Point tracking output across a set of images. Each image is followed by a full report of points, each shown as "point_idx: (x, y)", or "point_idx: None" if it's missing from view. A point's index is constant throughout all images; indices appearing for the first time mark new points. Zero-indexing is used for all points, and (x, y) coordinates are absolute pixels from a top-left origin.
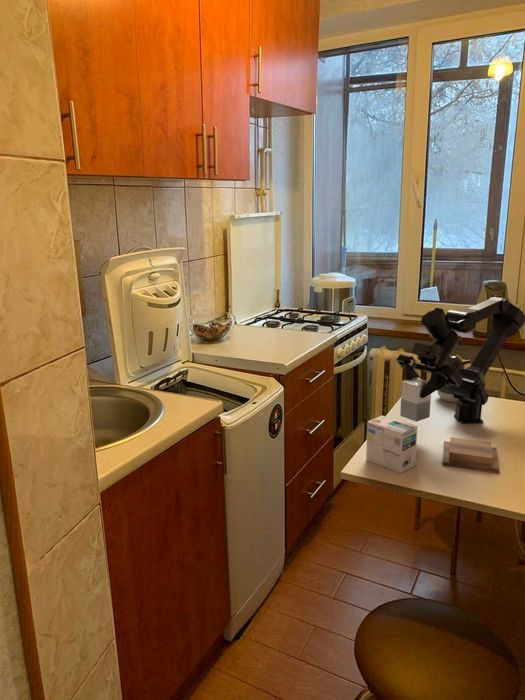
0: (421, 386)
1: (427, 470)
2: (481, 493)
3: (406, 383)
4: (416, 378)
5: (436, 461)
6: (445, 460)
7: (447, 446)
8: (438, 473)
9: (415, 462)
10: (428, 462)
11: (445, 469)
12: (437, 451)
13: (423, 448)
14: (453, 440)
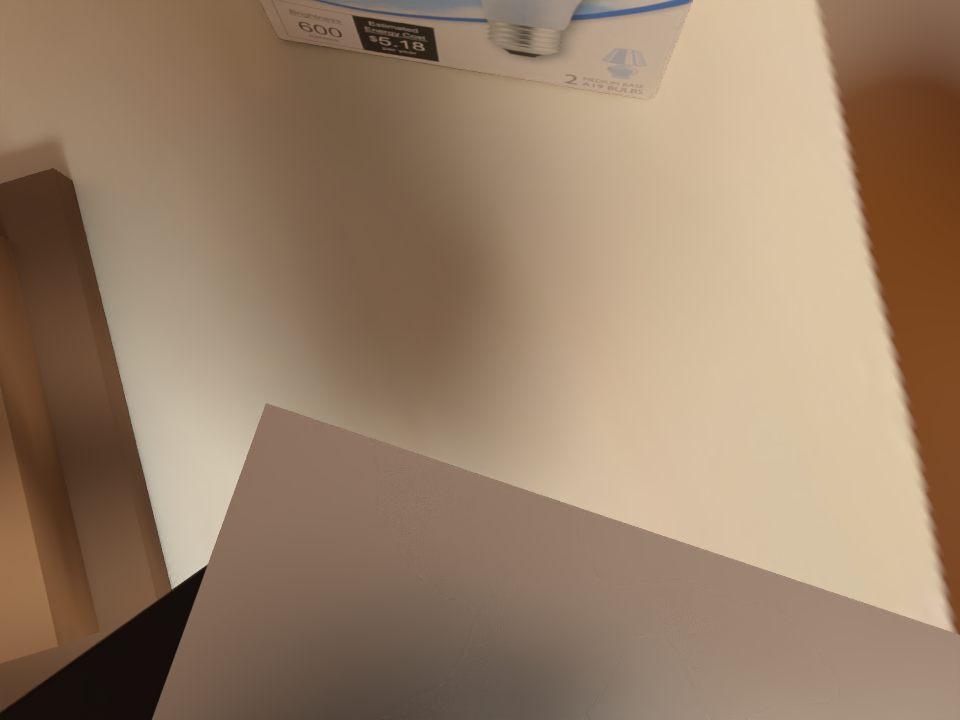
0: (219, 582)
1: (156, 11)
2: None
3: (810, 589)
4: None
5: (141, 229)
6: (35, 206)
7: (106, 551)
8: (58, 13)
9: (270, 20)
10: (198, 166)
11: (26, 120)
12: (199, 456)
13: None
14: (3, 563)
